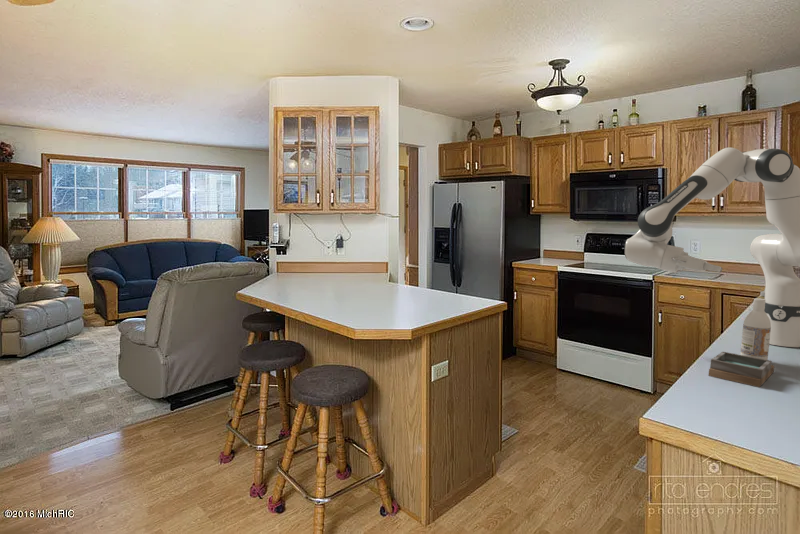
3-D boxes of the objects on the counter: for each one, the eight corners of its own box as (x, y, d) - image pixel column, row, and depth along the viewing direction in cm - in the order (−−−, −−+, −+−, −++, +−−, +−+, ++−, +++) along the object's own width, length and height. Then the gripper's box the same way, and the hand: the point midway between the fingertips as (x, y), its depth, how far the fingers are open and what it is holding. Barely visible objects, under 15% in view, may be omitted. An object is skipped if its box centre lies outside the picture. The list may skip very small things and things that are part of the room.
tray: (725, 362, 150) (727, 348, 149) (773, 372, 141) (775, 357, 141) (708, 375, 138) (709, 360, 137) (759, 387, 129) (761, 371, 128)
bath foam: (761, 366, 146) (768, 302, 144) (736, 360, 152) (742, 298, 150) (771, 362, 150) (777, 299, 148) (745, 356, 156) (751, 296, 154)
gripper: (673, 248, 154) (723, 259, 146) (680, 251, 171) (725, 261, 163) (667, 267, 155) (716, 279, 147) (675, 269, 172) (719, 279, 164)
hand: (721, 269), depth 155 cm, fingers open, 8 cm apart
